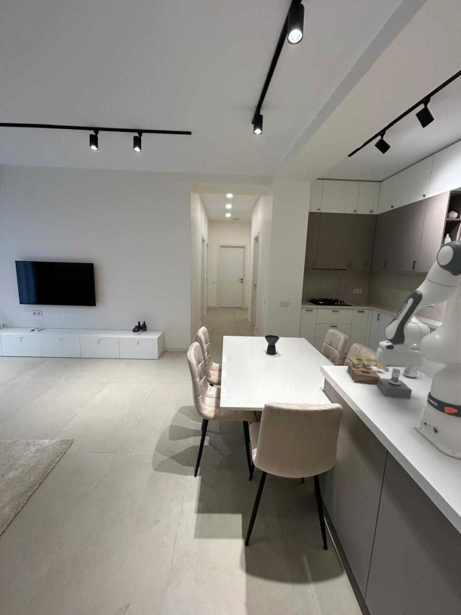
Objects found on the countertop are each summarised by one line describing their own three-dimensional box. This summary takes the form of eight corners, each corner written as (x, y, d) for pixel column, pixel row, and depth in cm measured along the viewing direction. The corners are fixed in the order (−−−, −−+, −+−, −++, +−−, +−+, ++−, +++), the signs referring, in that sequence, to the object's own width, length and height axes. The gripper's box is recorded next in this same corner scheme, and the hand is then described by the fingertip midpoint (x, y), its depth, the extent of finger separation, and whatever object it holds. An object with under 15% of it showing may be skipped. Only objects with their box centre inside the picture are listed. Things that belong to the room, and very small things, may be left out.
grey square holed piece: (410, 399, 124) (411, 390, 124) (385, 396, 126) (386, 387, 126) (399, 388, 135) (401, 380, 134) (377, 386, 137) (378, 377, 136)
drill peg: (400, 395, 128) (404, 372, 126) (389, 394, 129) (393, 371, 127) (396, 390, 133) (399, 368, 131) (385, 389, 134) (388, 367, 132)
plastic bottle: (419, 379, 149) (425, 345, 145) (407, 378, 149) (413, 345, 145) (411, 374, 155) (417, 342, 152) (400, 373, 155) (405, 341, 152)
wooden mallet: (390, 375, 146) (391, 363, 145) (354, 371, 149) (356, 360, 148) (382, 367, 157) (383, 356, 156) (349, 364, 160) (350, 353, 159)
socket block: (379, 385, 138) (380, 374, 137) (355, 382, 140) (356, 371, 139) (368, 373, 154) (370, 363, 153) (347, 371, 156) (348, 361, 155)
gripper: (420, 345, 128) (416, 372, 130) (375, 342, 131) (372, 368, 133) (427, 349, 122) (423, 377, 124) (380, 345, 125) (377, 372, 127)
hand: (396, 372), depth 128 cm, fingers open, 8 cm apart
